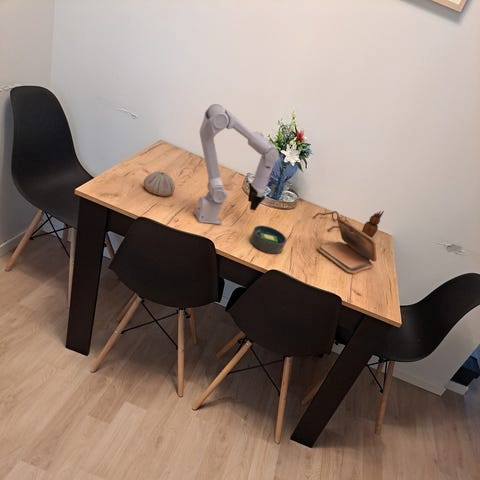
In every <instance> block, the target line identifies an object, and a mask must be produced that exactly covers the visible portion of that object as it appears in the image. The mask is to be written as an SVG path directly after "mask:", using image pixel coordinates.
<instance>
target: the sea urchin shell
mask: <svg viewBox="0 0 480 480" xmlns="http://www.w3.org/2000/svg"><path fill="white" fill-rule="evenodd" d="M143 179H144V180H143V186H144V188H145V190H147V192H149V193H151V194H153V195H158V196H161V197H162V196H163V197H169V196H172V195H173V194H174V193H175V191H176V184H175V182H174V181H173V178H172V177H171V176H170V175H169V174H168V173H166V172H163V171H160V170H158V171H154V172H152V173H150V174H148V175H146V176H145V178H143Z"/></svg>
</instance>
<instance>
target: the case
mask: <svg viewBox="0 0 480 480" xmlns="http://www.w3.org/2000/svg"><path fill="white" fill-rule="evenodd" d="M341 218H342V217H341ZM341 218H338V219H337V218H336V219H337V221H336V222H337V224H338V227H339V228H338V229H339V232H340V233H339V234H340V237H341V240H342V241H343V242H342V241H335V242H331V243H326V244H323V245H318V246H317V250H318V252H320V253H321V254H322V255H323V256H324V257H326V258H327V259H329V260H330V261H331V262H333V264H335V265H337V266H338V267H339V268H341V269H342V270H344V271H345V272H346V273H348V274H356V273H359V272H362V271H365V270H368V269H370V268H373V264H372V263H373V262H375V263H376V262H377V261H378V258H377V243H376V240H374V238H373V237H372V238H371V237H369V236H368V235H366V234H365V233H363V232H362V230H361V229H358V228H357V227H356V226H354V225H353V224H351V223H350V222H349V221H348V222H349V223H348V222H346V221H345V220H346V219H343V218H342V219H341Z"/></svg>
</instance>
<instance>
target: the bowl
mask: <svg viewBox="0 0 480 480" xmlns="http://www.w3.org/2000/svg"><path fill="white" fill-rule="evenodd" d="M260 233H264V234H268V235H273V236H276V237H277V240H278V243H272V242H269V241H267V240H264V239H263V238H261V237H260V236H258V235H259V234H260ZM250 242H251V244H252V245H253V246H254V247H255V248H256V249H258V250H260V251H262V252H264V253H268V254H279V253H282V252H283V249H284V247H285V244H286V242H287V237H286V236H285V235H284V234H283V233H282V232H281V231H279V230H277V229H275V228H274V227H270V226H267V225H256V226H254V228H253V230H252V233H251V236H250Z"/></svg>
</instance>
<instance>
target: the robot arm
mask: <svg viewBox="0 0 480 480" xmlns="http://www.w3.org/2000/svg"><path fill="white" fill-rule="evenodd" d="M225 129H227V130H232V129H233V130H234V131H236V132H237V133H239V134H240V135H241V136H243V137H244V139H246V140H247V145H248V146H249V147H250V148H252V150H254V151H255V152H257V154H259V155H260V156H261V157H260V159H259V162H258V165H257V167H256V171H255V173H254V176H253V179H252V181H251V182H249V183H248V189H249V190H248V191H249V192H248V198H247V201H248V202H250V208H249V210H250V211H251V210H252V211H256V210H257V208H258V207H259V206H260V204H261V203H262V202H263V201H264V200H265V199H266V196H265V195H264V192H265V190H266V191H268V190H269V186H267V185H268V181H269V179H270V176H271V173H272V171H273V168H274V165H275V164H276V162H277V161H278V160H279V159H280V152H279V150H278V148H277V147H276V146H275V144H273V141H271V140H268V139H267V138H266V137H265V134H264V133H263V132H258V131H252V130H251V129H250V128H249V127H248V126H246V124H244V123H243V122H242V121H241V120H240V119H239V118H238V117H237V116H236V115H234V114H233V113H232V112H231V111H229V110H228V109H227V108H224V107H223V106H222V105H220V104H219V103H214V104H211V105H210V106H208V108H207V109H206V110H205V111H204V115H203V120H202V123H201V125H200V128H199V138H200V142H201V147H202V152H203V157H204V163H205V167H206V173H207V182H208V183H207V188H206V189H207V191H208V192H207V193H206V195H205V196H200V197H198V200H197V203H196V206H195V210H194V211H193V212H194V215H195V217H196V219H197V220H198V222H199V223H205V224H213V225H214V224H215V225H221V222H220V220H219V216H220V213H221V211H222V208H223V204H224V202H225V201H226V200H227V198H228V192H227V191H226V189H225V187H224V184H223V181H222V177H221V173H220V166H219V161H218V156H217V155H218V154H217V150H216V144H215V140H214V139H215V137H216V136H217V134H219V133H220V132H222V131H223V130H225Z"/></svg>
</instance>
